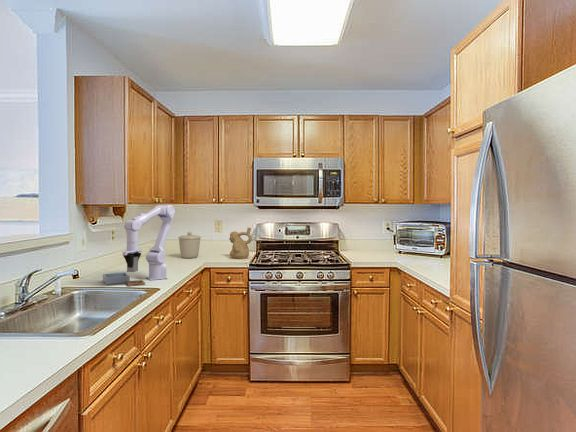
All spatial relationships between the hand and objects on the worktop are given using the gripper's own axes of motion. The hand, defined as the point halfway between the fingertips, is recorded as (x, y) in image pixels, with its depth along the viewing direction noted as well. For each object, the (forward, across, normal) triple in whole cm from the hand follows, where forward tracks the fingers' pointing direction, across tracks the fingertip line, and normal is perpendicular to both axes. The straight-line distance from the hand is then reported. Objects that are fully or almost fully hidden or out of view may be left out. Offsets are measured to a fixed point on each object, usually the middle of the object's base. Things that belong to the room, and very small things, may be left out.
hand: (132, 266), depth 206 cm
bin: (+9, +2, +11) cm, 15 cm away
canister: (+10, +98, +14) cm, 100 cm away
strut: (+2, 0, 0) cm, 3 cm away
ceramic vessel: (+10, +108, -25) cm, 111 cm away
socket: (+9, 0, -2) cm, 10 cm away
